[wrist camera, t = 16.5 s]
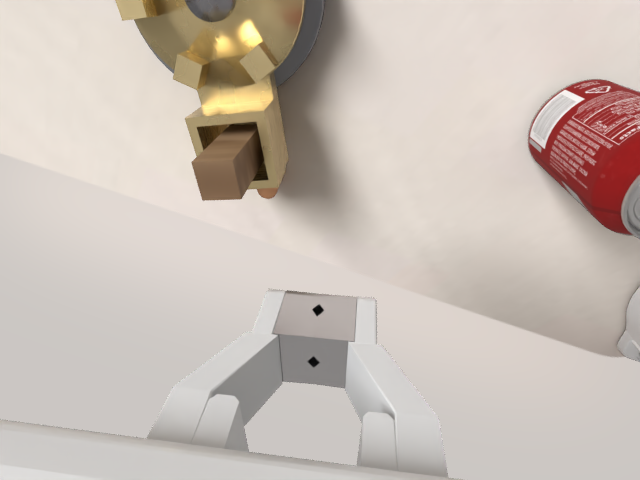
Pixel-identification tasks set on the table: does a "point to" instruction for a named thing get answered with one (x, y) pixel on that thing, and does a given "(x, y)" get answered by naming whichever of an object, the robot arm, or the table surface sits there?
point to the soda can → (593, 149)
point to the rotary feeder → (226, 64)
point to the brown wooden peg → (229, 163)
